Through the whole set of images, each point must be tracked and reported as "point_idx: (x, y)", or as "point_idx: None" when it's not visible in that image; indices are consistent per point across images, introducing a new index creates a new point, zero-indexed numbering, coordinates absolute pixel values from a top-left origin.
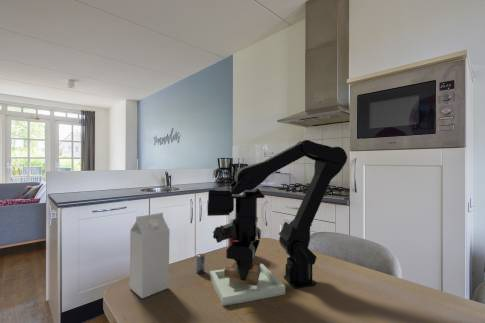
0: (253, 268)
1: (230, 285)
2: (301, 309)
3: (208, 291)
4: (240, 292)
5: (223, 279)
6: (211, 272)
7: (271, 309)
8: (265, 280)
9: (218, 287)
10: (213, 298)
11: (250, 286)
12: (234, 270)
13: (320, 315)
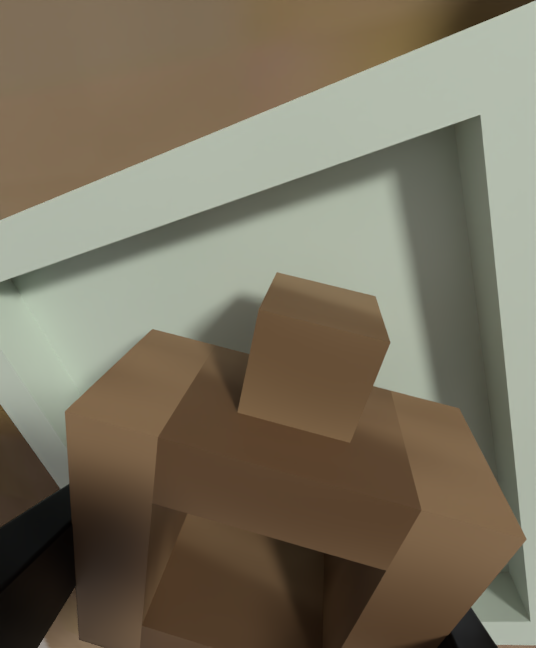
0: (186, 644)
1: (240, 314)
2: (73, 595)
3: (162, 71)
4: (21, 404)
5: (376, 241)
6: (488, 31)
7: (38, 500)
8: None
9: (45, 206)
10: (52, 151)
11: None
12: (88, 472)
13: (53, 626)
